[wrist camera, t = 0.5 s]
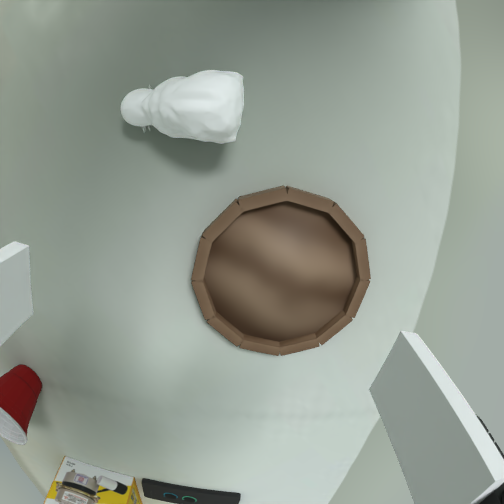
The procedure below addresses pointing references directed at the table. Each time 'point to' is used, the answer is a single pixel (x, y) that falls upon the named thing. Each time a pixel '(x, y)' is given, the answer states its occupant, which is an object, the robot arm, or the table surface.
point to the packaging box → (91, 485)
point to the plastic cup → (18, 402)
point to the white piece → (190, 106)
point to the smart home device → (186, 494)
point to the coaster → (281, 271)
